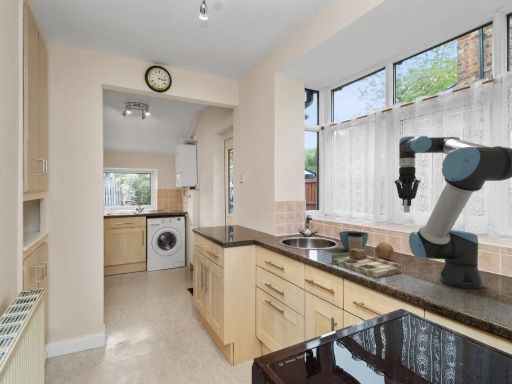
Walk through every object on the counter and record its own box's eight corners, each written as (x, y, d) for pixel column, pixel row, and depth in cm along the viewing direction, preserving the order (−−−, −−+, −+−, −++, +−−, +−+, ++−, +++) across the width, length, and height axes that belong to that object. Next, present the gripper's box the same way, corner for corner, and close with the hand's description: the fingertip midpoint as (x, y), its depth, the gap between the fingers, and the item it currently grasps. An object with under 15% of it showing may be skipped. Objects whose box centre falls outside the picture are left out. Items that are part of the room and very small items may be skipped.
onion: (385, 262, 154) (385, 244, 154) (371, 258, 163) (371, 241, 163) (397, 261, 157) (398, 243, 157) (383, 257, 167) (384, 240, 166)
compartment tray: (400, 272, 135) (400, 263, 135) (376, 277, 127) (376, 268, 127) (354, 259, 161) (354, 251, 161) (331, 262, 152) (331, 254, 152)
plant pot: (333, 250, 183) (333, 232, 183) (349, 247, 194) (349, 230, 194) (358, 255, 169) (358, 236, 169) (373, 252, 180) (373, 233, 180)
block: (365, 259, 151) (365, 250, 151) (358, 260, 148) (358, 251, 148) (356, 256, 156) (357, 248, 156) (349, 258, 153) (349, 249, 153)
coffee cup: (364, 259, 161) (364, 233, 161) (347, 258, 163) (348, 233, 163) (361, 255, 171) (361, 231, 170) (345, 254, 172) (346, 230, 172)
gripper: (391, 167, 146) (390, 211, 146) (415, 165, 134) (414, 213, 135) (399, 168, 149) (399, 211, 150) (424, 166, 138) (423, 212, 138)
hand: (406, 212), depth 142 cm, fingers closed
